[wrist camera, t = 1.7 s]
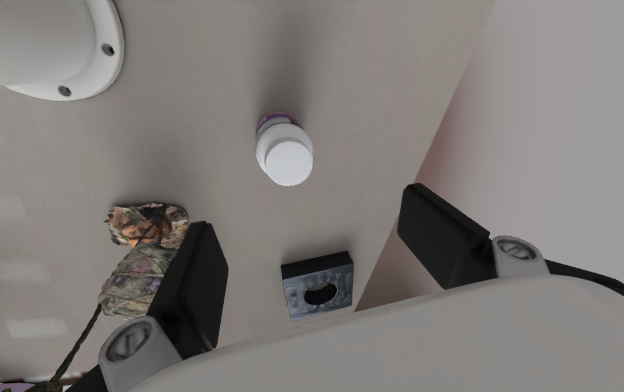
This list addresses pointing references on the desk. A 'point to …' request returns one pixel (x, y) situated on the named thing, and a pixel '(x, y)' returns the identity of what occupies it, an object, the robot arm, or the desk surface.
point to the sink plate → (313, 272)
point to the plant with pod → (132, 268)
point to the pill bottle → (283, 149)
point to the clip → (16, 386)
